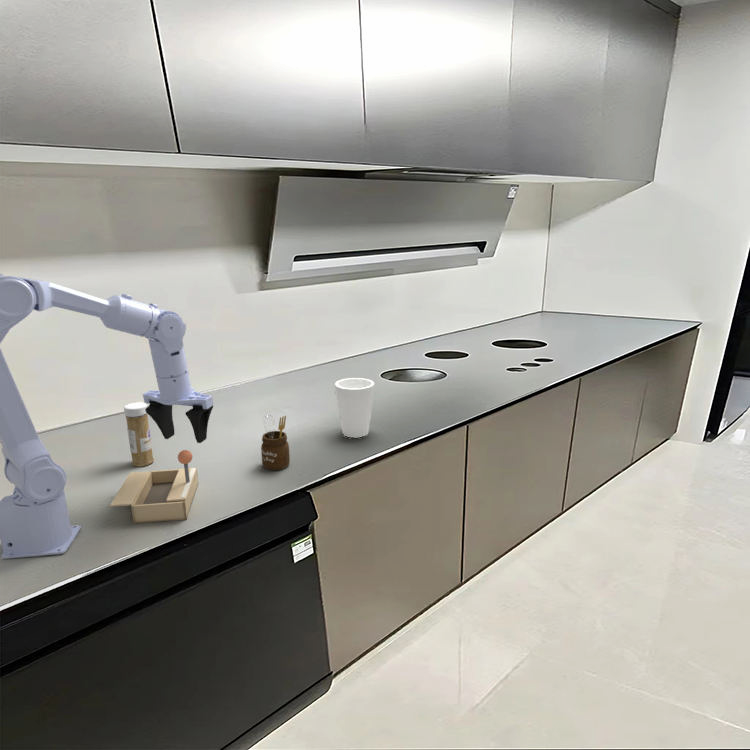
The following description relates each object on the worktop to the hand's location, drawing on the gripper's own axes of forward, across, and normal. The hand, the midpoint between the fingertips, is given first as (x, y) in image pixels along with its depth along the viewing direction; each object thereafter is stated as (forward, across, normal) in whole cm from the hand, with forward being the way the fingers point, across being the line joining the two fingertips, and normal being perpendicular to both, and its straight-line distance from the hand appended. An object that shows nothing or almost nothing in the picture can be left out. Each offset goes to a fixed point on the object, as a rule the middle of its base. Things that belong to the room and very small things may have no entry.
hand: (185, 438), depth 108 cm
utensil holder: (+12, -11, -14) cm, 21 cm away
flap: (+7, -2, +5) cm, 9 cm away
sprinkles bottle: (+10, +18, -5) cm, 21 cm away
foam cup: (+15, -20, -36) cm, 44 cm away
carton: (+10, +2, +8) cm, 13 cm away
